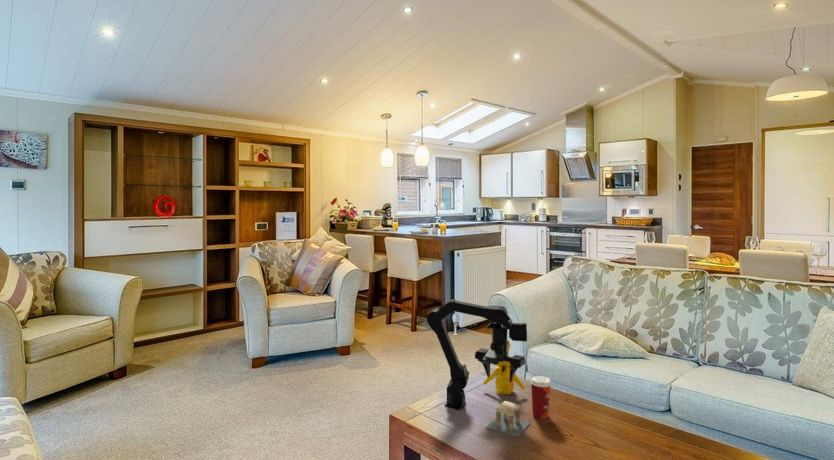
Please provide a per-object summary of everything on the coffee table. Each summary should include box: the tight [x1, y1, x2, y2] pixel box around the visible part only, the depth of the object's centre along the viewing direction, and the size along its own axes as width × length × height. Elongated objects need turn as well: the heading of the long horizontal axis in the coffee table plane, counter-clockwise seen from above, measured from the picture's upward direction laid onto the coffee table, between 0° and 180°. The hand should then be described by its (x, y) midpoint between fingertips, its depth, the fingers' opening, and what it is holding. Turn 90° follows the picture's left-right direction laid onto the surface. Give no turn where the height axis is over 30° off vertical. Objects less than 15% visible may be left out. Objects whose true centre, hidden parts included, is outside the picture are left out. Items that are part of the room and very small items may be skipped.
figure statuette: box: [482, 338, 526, 395], centre depth 192 cm, size 18×8×22 cm, turn 70°
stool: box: [495, 400, 521, 431], centre depth 164 cm, size 8×6×7 cm
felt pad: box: [485, 413, 531, 439], centre depth 164 cm, size 12×12×1 cm
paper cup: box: [530, 375, 552, 420], centre depth 171 cm, size 8×8×14 cm
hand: (499, 379), depth 176 cm, fingers open, 9 cm apart
